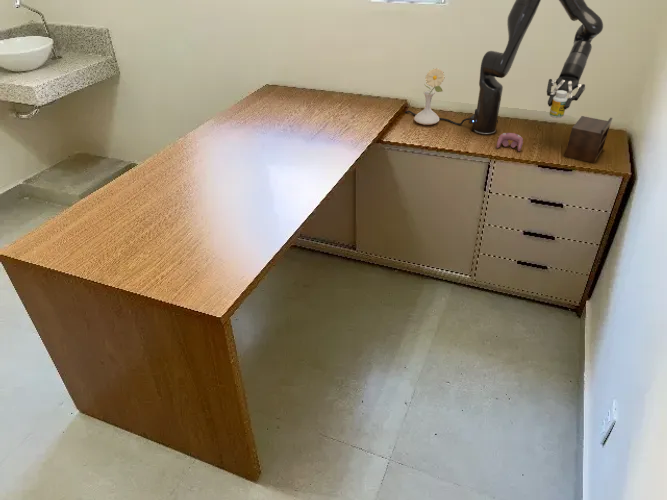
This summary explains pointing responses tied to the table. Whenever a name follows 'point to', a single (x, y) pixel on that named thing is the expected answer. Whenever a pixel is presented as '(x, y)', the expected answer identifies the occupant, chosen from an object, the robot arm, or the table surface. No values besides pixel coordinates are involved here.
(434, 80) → the flower in vase
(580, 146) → the dark wooden box
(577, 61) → the robot arm
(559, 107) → the supplement bottle
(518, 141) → the video game controller
